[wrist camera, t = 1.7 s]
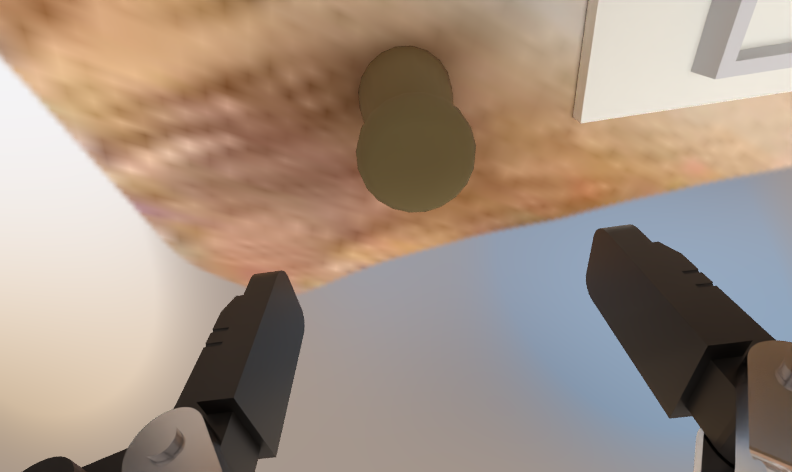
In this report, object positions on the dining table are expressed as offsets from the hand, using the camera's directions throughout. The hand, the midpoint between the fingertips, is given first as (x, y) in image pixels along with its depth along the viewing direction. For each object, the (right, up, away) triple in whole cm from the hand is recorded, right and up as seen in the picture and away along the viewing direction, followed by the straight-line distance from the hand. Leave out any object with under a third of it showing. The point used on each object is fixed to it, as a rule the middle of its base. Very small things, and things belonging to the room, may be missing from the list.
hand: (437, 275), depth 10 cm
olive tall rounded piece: (-1, +10, +14) cm, 17 cm away
